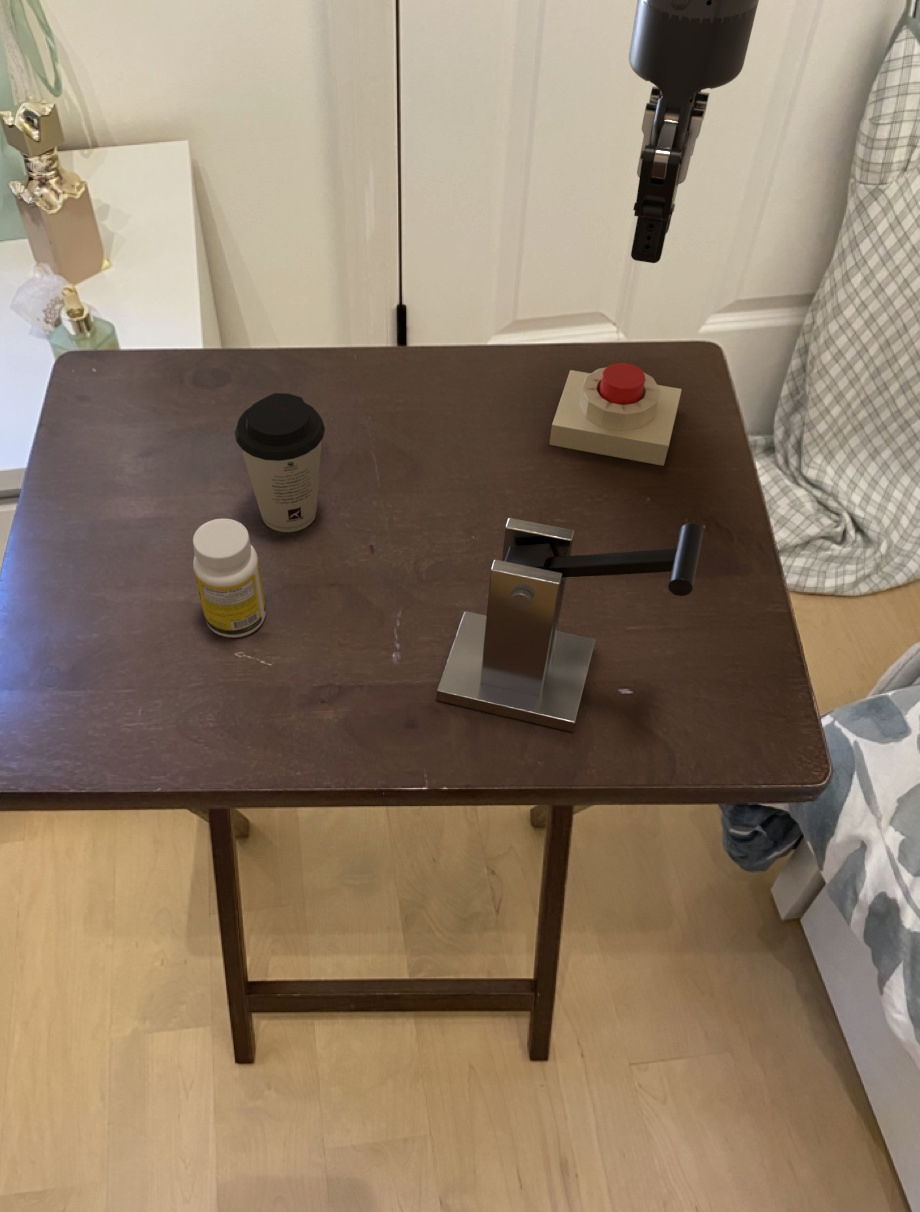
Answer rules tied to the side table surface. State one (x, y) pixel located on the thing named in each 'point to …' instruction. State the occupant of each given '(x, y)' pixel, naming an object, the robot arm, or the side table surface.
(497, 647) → the bracket
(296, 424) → the coffee cup
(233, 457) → the side table surface
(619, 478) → the side table surface
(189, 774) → the side table surface
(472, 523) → the side table surface
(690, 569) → the lever
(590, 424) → the control block
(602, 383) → the button
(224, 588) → the supplement bottle
